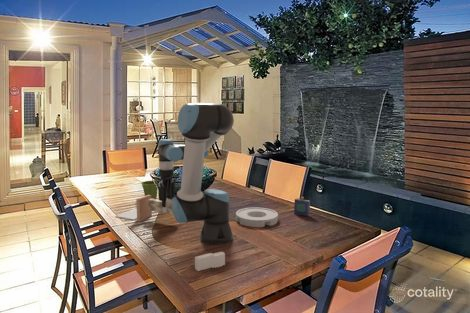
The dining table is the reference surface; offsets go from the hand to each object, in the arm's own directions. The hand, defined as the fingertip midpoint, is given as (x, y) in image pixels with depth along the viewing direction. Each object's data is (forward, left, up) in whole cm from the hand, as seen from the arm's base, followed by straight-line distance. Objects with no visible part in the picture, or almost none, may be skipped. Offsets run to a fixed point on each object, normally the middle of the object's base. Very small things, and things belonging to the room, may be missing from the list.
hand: (167, 211), depth 188 cm
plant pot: (+37, -33, -6) cm, 50 cm away
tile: (+15, 0, -6) cm, 16 cm away
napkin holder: (-47, +36, -6) cm, 60 cm away
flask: (-62, -45, -6) cm, 77 cm away
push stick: (+2, 0, -1) cm, 2 cm away
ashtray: (-42, -25, -6) cm, 49 cm away
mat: (+24, -2, -6) cm, 25 cm away
